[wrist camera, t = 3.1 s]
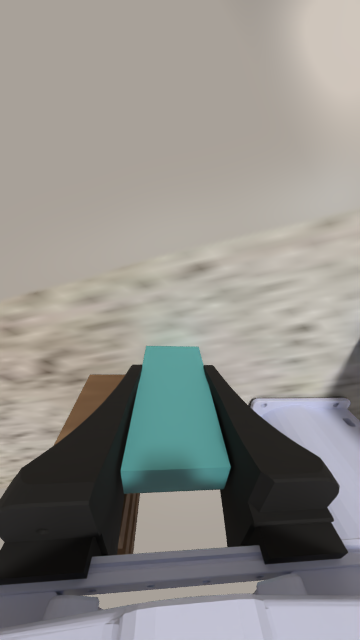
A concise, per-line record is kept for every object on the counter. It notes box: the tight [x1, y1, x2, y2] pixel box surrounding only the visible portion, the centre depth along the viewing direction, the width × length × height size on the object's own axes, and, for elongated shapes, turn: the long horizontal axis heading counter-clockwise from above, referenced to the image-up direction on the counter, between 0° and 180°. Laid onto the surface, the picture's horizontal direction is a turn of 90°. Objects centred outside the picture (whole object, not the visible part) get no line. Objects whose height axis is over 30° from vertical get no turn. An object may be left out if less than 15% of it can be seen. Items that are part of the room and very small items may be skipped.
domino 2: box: [121, 346, 231, 494], centre depth 10 cm, size 2×4×8 cm, turn 87°
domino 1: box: [54, 375, 125, 445], centre depth 11 cm, size 2×4×8 cm, turn 87°
